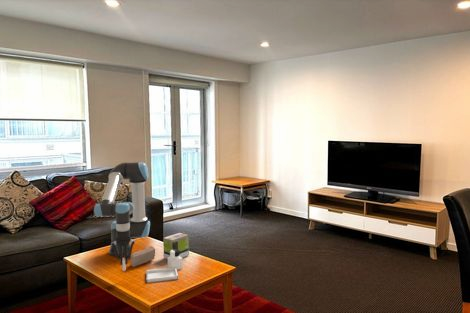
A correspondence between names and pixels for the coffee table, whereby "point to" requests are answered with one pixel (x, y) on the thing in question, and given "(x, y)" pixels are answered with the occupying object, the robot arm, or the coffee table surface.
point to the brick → (142, 256)
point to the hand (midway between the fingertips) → (124, 269)
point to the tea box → (176, 244)
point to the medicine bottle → (175, 259)
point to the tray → (161, 274)
